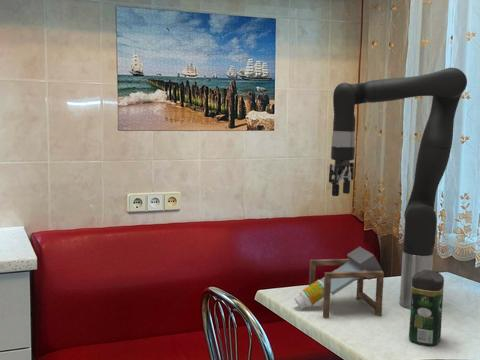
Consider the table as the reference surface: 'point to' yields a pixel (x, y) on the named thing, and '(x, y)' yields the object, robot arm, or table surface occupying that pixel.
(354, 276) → the frame
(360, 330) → the table surface
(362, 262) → the grey angled panel
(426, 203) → the robot arm
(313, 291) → the supplement bottle
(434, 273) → the coffee jar
